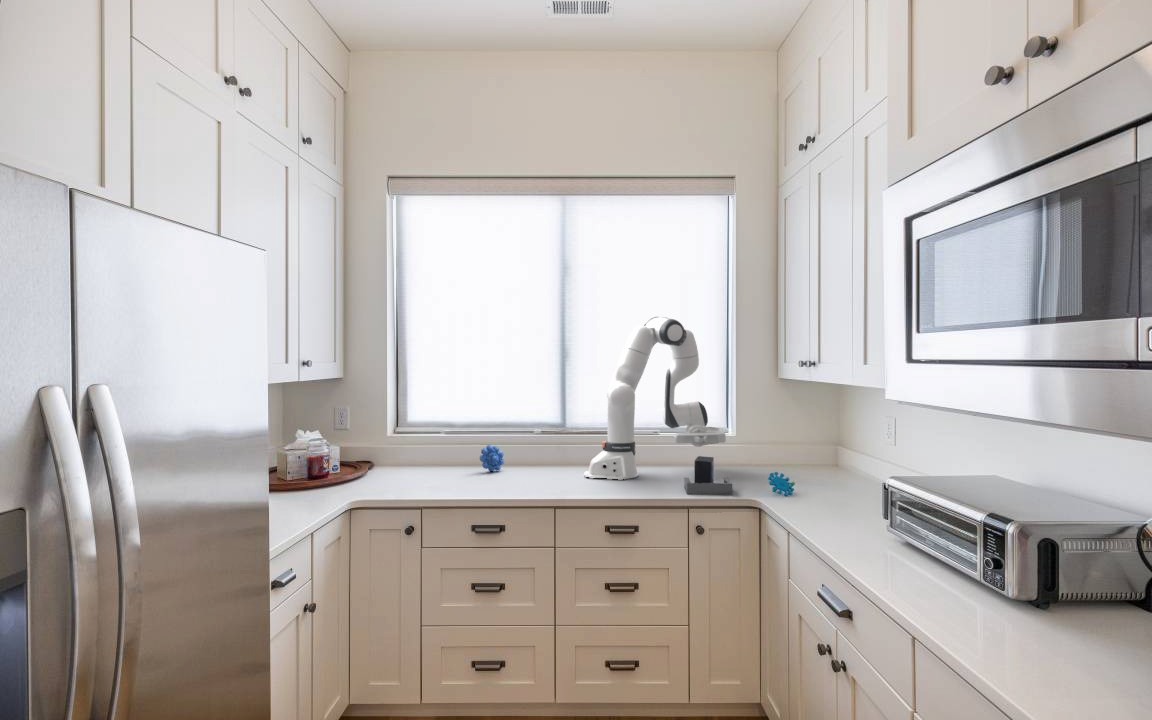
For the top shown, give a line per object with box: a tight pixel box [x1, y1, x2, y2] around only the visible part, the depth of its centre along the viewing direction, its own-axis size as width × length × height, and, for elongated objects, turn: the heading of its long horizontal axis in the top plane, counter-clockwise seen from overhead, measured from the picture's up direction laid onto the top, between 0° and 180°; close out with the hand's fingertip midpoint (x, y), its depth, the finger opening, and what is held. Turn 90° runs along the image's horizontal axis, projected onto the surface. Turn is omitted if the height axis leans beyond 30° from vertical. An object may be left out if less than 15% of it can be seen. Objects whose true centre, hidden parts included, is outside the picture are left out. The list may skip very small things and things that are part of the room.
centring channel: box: [683, 477, 733, 496], centre depth 217 cm, size 16×10×4 cm, turn 85°
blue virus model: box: [767, 471, 796, 497], centre depth 214 cm, size 11×6×10 cm
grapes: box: [479, 444, 505, 472], centre depth 256 cm, size 12×7×12 cm, turn 126°
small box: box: [693, 455, 715, 483], centre depth 227 cm, size 11×6×10 cm, turn 161°
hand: (702, 440), depth 237 cm, fingers closed
